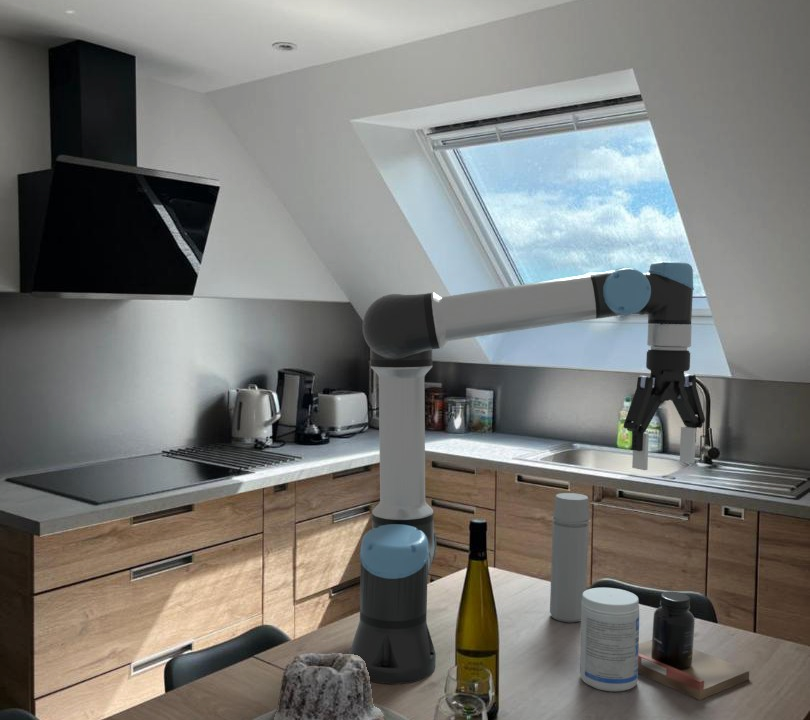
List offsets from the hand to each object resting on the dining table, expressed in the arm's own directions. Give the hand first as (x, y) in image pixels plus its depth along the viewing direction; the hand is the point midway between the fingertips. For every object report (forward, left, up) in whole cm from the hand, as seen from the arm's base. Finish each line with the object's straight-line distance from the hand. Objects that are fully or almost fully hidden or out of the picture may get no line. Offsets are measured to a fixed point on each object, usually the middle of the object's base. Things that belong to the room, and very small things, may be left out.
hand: (664, 465), depth 152 cm
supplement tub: (+3, -17, -35) cm, 39 cm away
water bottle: (-22, 0, -35) cm, 41 cm away
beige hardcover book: (+7, -3, -35) cm, 36 cm away
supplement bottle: (+7, -5, -33) cm, 34 cm away
